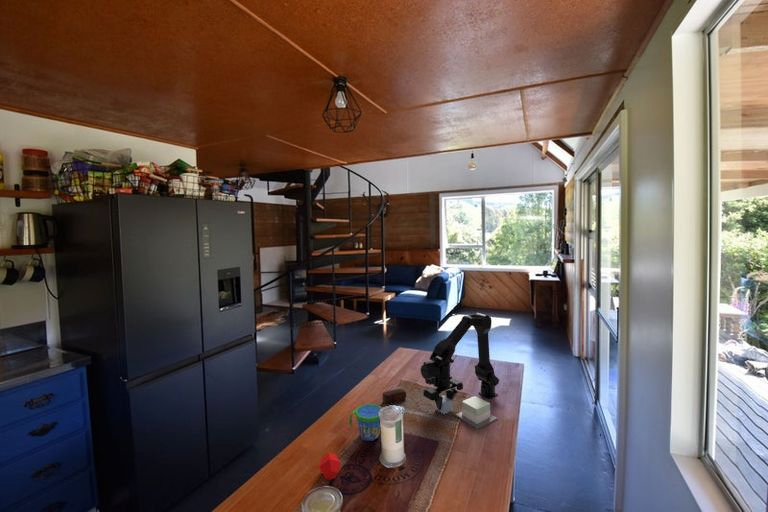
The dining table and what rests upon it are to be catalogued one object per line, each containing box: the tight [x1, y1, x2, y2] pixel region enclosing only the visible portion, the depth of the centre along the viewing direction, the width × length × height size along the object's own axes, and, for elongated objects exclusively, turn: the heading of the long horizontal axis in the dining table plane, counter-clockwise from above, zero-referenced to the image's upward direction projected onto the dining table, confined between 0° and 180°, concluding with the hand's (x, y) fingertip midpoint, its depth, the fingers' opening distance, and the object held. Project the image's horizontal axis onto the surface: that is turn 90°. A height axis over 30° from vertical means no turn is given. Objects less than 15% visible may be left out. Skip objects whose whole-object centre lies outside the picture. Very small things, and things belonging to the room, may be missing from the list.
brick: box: [382, 388, 407, 405], centre depth 153 cm, size 11×4×5 cm, turn 117°
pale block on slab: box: [454, 395, 498, 430], centre depth 137 cm, size 12×12×7 cm
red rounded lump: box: [318, 451, 341, 481], centre depth 107 cm, size 7×7×8 cm
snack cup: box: [349, 403, 382, 442], centre depth 126 cm, size 16×10×10 cm
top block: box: [435, 395, 453, 415], centre depth 143 cm, size 5×5×5 cm
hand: (443, 408), depth 144 cm, fingers closed on top block, 5 cm apart
